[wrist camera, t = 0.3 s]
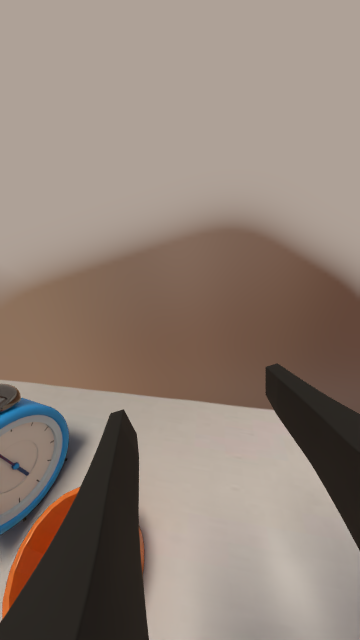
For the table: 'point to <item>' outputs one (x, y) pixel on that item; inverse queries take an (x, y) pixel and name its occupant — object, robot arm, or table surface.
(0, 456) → the alarm clock
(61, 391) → the table surface
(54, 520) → the cup
